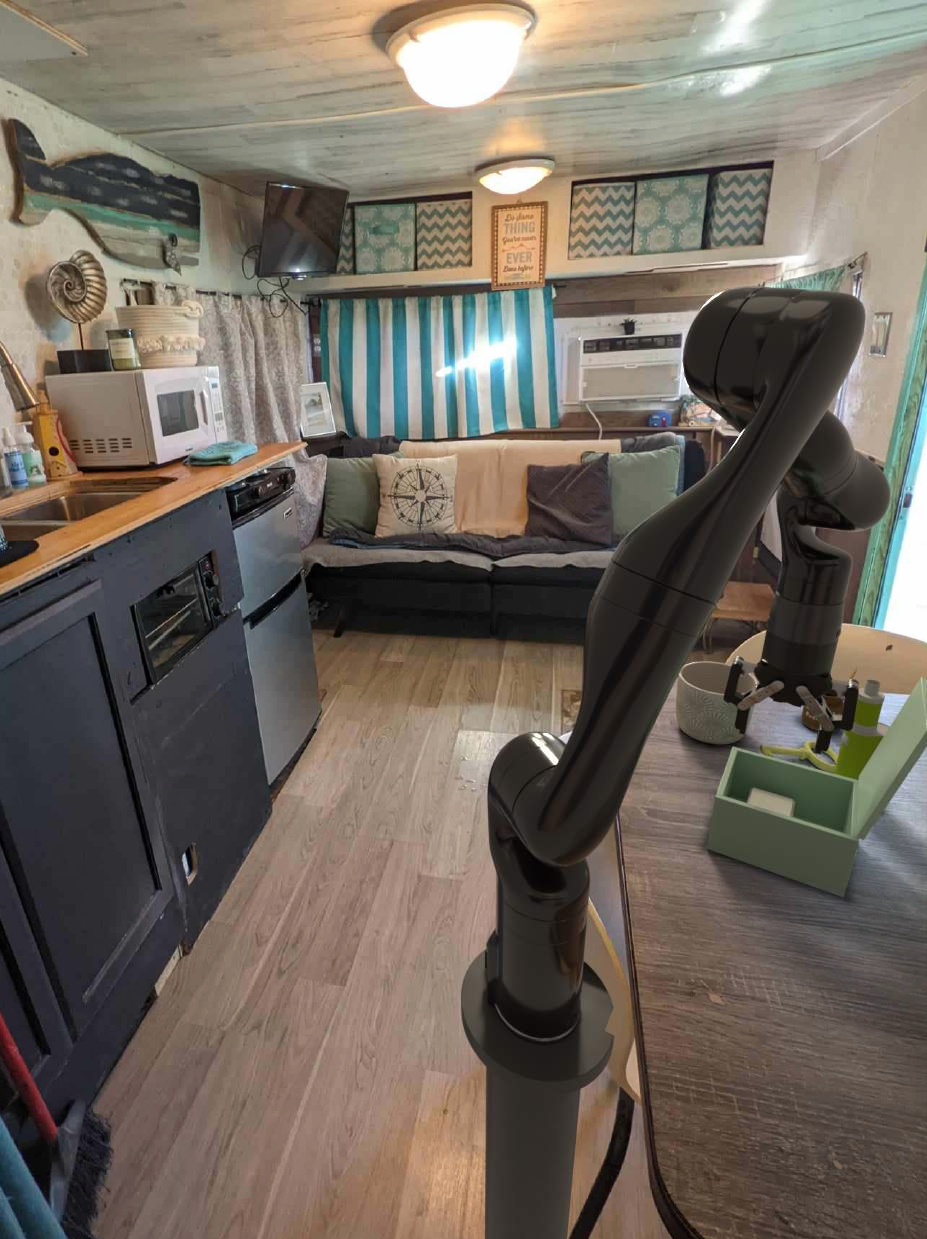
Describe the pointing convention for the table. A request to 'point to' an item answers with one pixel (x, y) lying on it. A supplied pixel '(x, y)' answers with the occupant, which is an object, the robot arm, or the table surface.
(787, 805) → the white power adapter
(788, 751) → the key
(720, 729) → the planter
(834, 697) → the utensil holder
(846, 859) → the box
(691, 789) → the table surface
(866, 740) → the vape
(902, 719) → the lid
